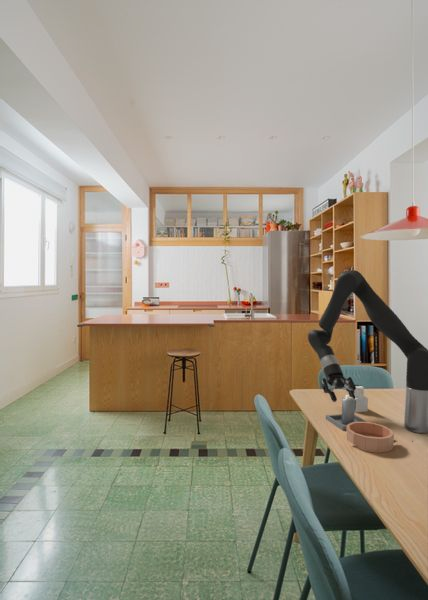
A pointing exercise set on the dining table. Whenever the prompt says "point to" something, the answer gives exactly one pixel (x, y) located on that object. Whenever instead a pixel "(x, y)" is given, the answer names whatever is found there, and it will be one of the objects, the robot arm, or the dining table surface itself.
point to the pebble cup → (348, 410)
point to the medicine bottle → (360, 399)
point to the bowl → (370, 436)
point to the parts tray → (337, 420)
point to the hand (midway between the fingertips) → (344, 400)
